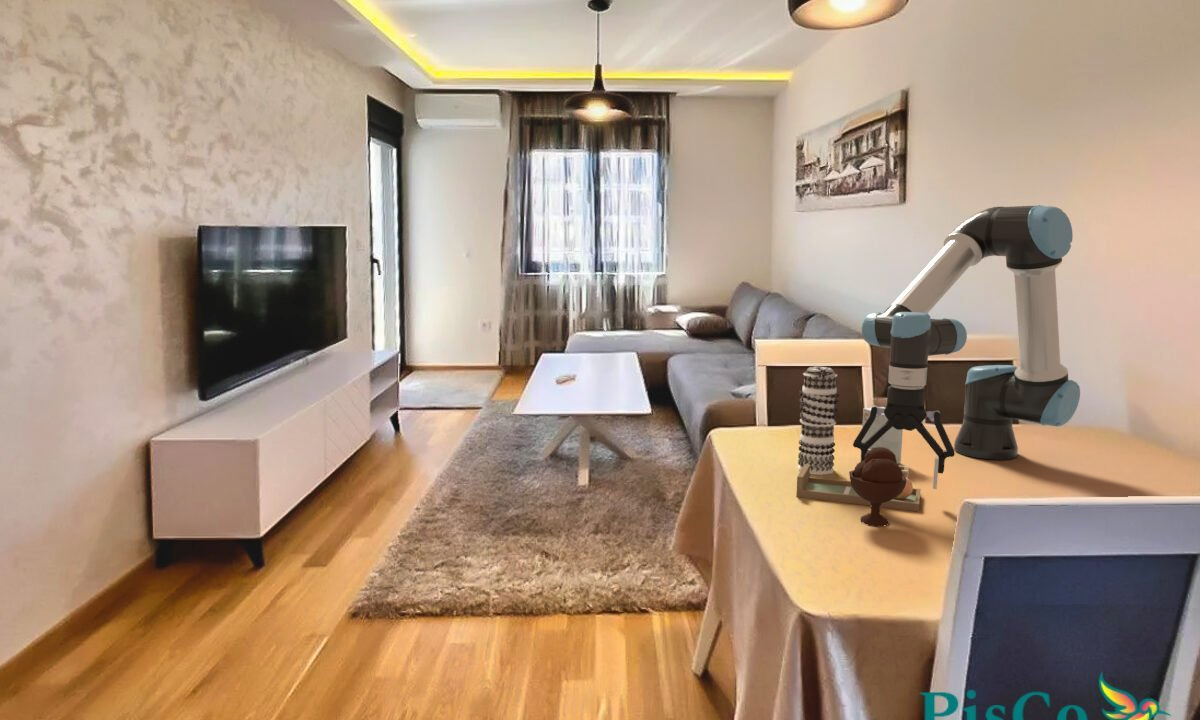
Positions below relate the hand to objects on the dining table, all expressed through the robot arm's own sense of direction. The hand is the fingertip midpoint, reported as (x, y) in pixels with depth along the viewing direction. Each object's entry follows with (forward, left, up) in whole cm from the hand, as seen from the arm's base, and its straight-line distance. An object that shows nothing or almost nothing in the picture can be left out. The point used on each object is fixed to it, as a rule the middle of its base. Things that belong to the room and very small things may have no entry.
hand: (900, 483), depth 180 cm
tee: (+1, -10, -4) cm, 10 cm away
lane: (+8, 0, -4) cm, 9 cm away
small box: (+6, -32, -4) cm, 33 cm away
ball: (0, 0, -1) cm, 1 cm away
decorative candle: (+20, -18, -4) cm, 27 cm away
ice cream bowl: (+4, +16, -4) cm, 17 cm away
